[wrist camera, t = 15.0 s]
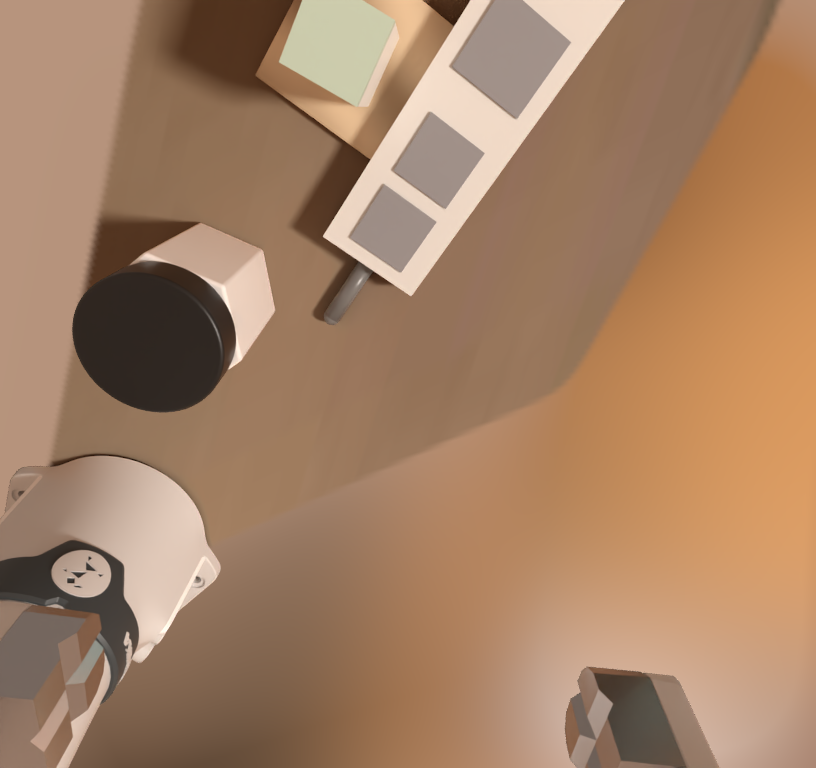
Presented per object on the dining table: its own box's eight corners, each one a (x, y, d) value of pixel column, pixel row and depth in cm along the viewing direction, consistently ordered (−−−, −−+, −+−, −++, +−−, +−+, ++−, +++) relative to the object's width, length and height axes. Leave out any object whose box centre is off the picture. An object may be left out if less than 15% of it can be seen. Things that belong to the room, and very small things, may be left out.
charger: (368, 106, 37) (356, 106, 29) (306, 71, 36) (278, 62, 29) (399, 38, 35) (394, 20, 28) (335, -2, 34) (313, -30, 27)
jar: (141, 310, 43) (49, 378, 32) (170, 206, 40) (78, 243, 29) (258, 357, 45) (207, 438, 34) (294, 260, 41) (250, 315, 31)
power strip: (368, 345, 44) (365, 360, 42) (287, 294, 42) (279, 305, 40) (651, -50, 34) (671, -63, 31) (558, -140, 32) (570, -161, 29)
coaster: (378, 163, 39) (377, 164, 38) (257, 75, 37) (255, 75, 36) (460, 33, 35) (461, 32, 35) (333, -72, 33) (332, -75, 33)
